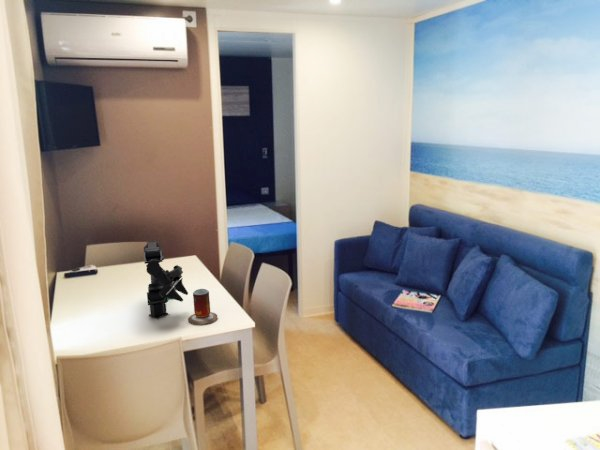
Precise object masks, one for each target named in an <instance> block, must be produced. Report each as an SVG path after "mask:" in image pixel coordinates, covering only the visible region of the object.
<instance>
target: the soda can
mask: <svg viewBox="0 0 600 450" xmlns="http://www.w3.org/2000/svg"><path fill="white" fill-rule="evenodd" d="M192 296H193V309H194V314H195V315H196V317H197V318H198V319H204V318H207V317H209V314H210V312H211V303H210V291H209V290H208V289H205V288H199V289H196V290H194V291H193V292H192Z"/></svg>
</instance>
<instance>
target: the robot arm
mask: <svg viewBox="0 0 600 450" xmlns="http://www.w3.org/2000/svg"><path fill="white" fill-rule="evenodd" d="M143 260H144V261H143V263H144V264H146V265H145V266H146V273H147V274H149V276H150V283H149V284H148V285H147V286H148V287H147V289H148V290H147V292H146V297H147V305H148V306H149V310H150V311H149V314H148V317H151V318H154V319H159V318H162V317H165V316H167V315H169V313H168V312H167V302H169V299H172V300H176V301H178V302H181V303H182V302H183V301H184V299H183V297H182V296H181V295H180V294H179V292H180V293H182V295H186V296H187V295H189V291H188V290H187V289H186V287H185V285H184V284H183V275H182V274H183V273H184V271H183V267H181V266H179V265H178V264H176V265H174V266H173V269H172V270H168V269H166V270H165V269H164V268H163V267H162V266H161V264H160V263H163V261H164V252H163V250H162V246H161V245H160V244H159V243H158V240H149V241H146V245H145V246H144V247H143Z"/></svg>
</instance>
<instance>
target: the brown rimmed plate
mask: <svg viewBox="0 0 600 450" xmlns="http://www.w3.org/2000/svg"><path fill="white" fill-rule="evenodd" d="M217 320H218V314H217V313H215V312H211V311H210V314H209V317H207V318H204V319H198V318H197V317H196V315H195V313H193V314H192V315H190V316H188V318H187V321H188V323H189V324H190V325H192V326H206V325H210V324H214V323H215V322H216V321H217Z"/></svg>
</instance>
